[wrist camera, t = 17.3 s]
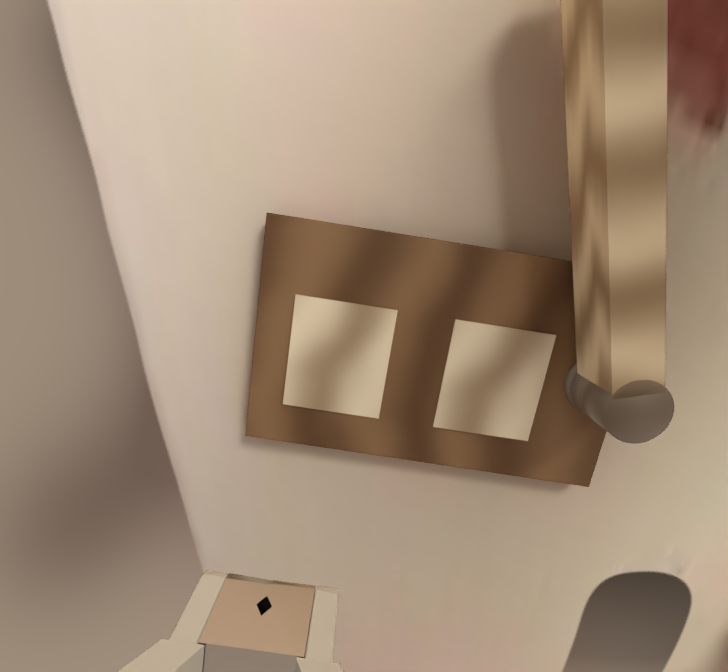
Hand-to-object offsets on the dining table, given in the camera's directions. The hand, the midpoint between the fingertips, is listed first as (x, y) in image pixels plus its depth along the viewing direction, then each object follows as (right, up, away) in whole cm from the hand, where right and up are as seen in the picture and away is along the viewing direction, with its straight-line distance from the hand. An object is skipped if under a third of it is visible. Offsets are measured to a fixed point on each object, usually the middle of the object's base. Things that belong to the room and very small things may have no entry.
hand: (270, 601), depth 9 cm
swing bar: (+16, +14, +16) cm, 27 cm away
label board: (+7, +5, +21) cm, 22 cm away
